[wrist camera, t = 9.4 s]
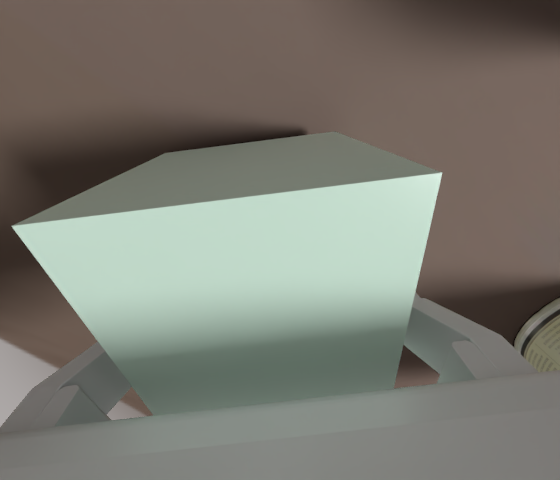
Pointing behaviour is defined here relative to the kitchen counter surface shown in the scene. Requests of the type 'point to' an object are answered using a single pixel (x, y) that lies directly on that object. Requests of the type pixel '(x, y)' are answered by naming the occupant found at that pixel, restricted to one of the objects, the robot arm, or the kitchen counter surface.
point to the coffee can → (541, 338)
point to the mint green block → (246, 269)
